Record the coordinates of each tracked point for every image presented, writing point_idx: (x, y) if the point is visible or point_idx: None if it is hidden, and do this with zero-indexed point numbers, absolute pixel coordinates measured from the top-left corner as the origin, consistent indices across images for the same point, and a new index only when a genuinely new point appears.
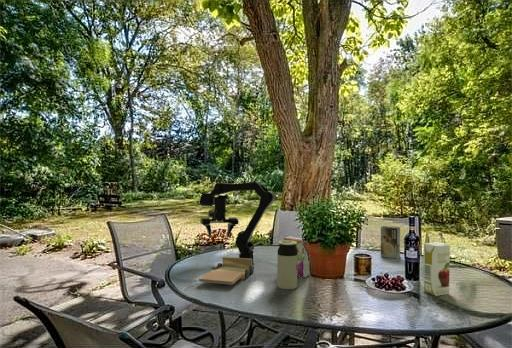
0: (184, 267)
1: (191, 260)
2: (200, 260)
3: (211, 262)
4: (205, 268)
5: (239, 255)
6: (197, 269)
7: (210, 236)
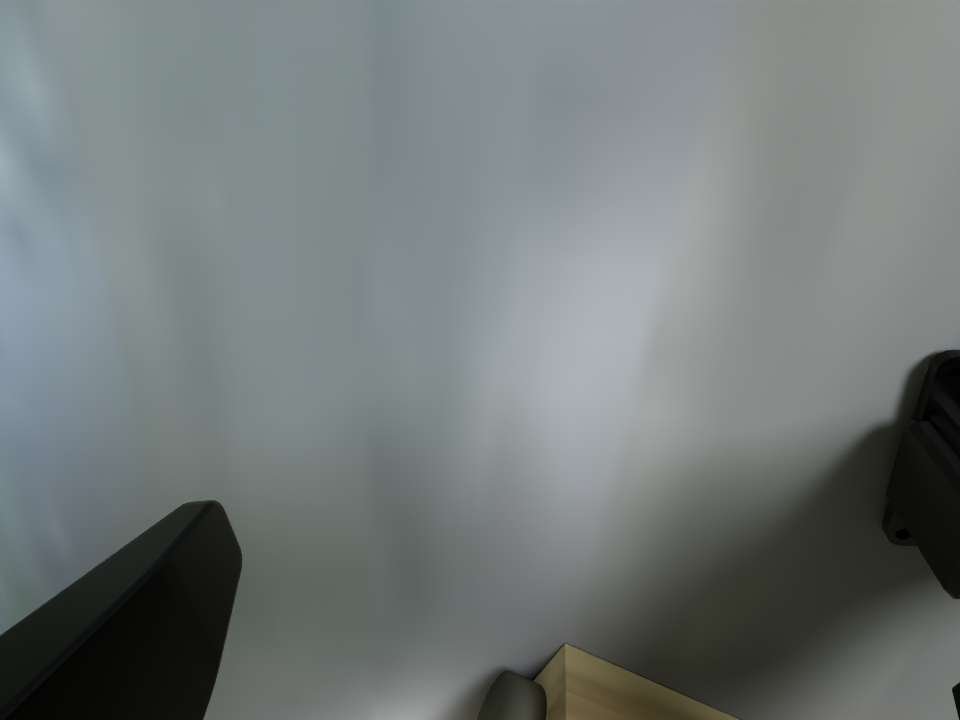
0: (44, 461)
1: (32, 21)
2: (214, 55)
3: (430, 257)
4: (336, 557)
5: (944, 578)
6: None
7: (216, 637)
